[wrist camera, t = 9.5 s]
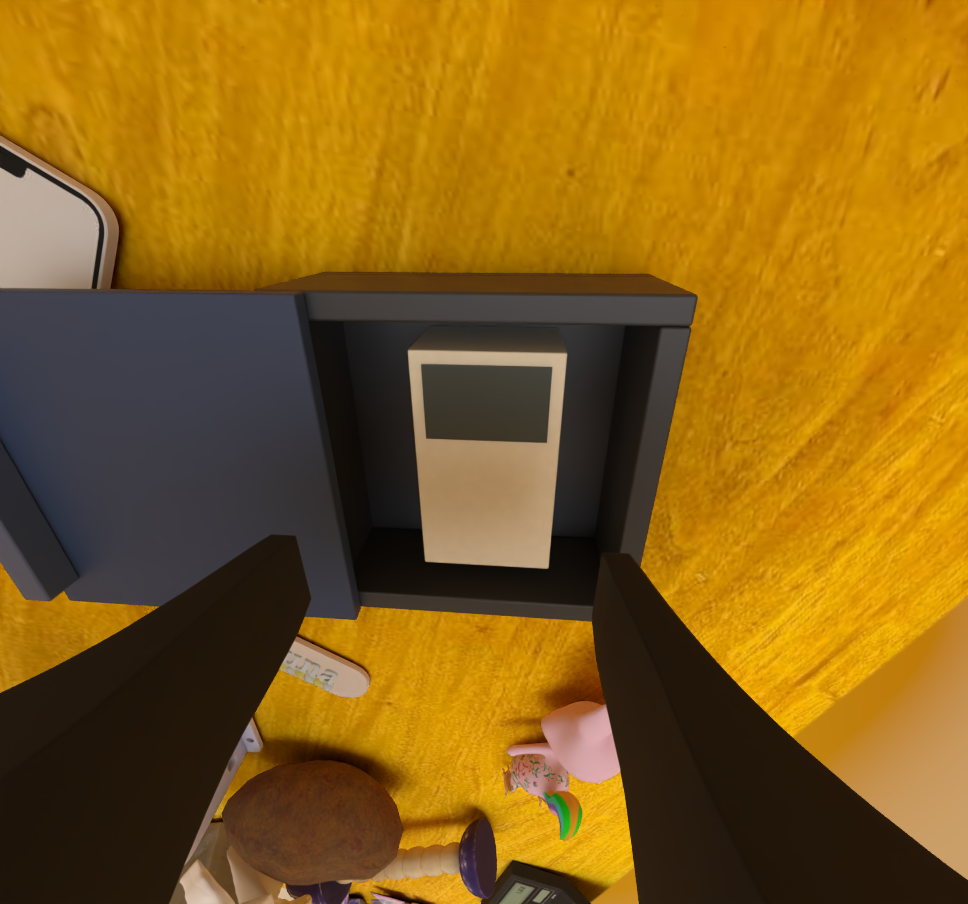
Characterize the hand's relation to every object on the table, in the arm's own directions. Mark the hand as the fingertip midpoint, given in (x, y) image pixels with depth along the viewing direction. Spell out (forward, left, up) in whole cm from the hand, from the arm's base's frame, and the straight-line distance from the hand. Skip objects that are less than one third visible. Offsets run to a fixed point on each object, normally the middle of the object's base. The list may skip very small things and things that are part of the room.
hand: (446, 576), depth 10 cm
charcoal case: (0, 0, -9) cm, 9 cm away
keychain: (-15, +11, -9) cm, 21 cm away
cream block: (0, -1, -8) cm, 8 cm away
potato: (-25, +10, -8) cm, 28 cm away
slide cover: (0, +10, -4) cm, 11 cm away
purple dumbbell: (-33, -1, -7) cm, 33 cm away
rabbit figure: (-19, -6, -9) cm, 22 cm away
